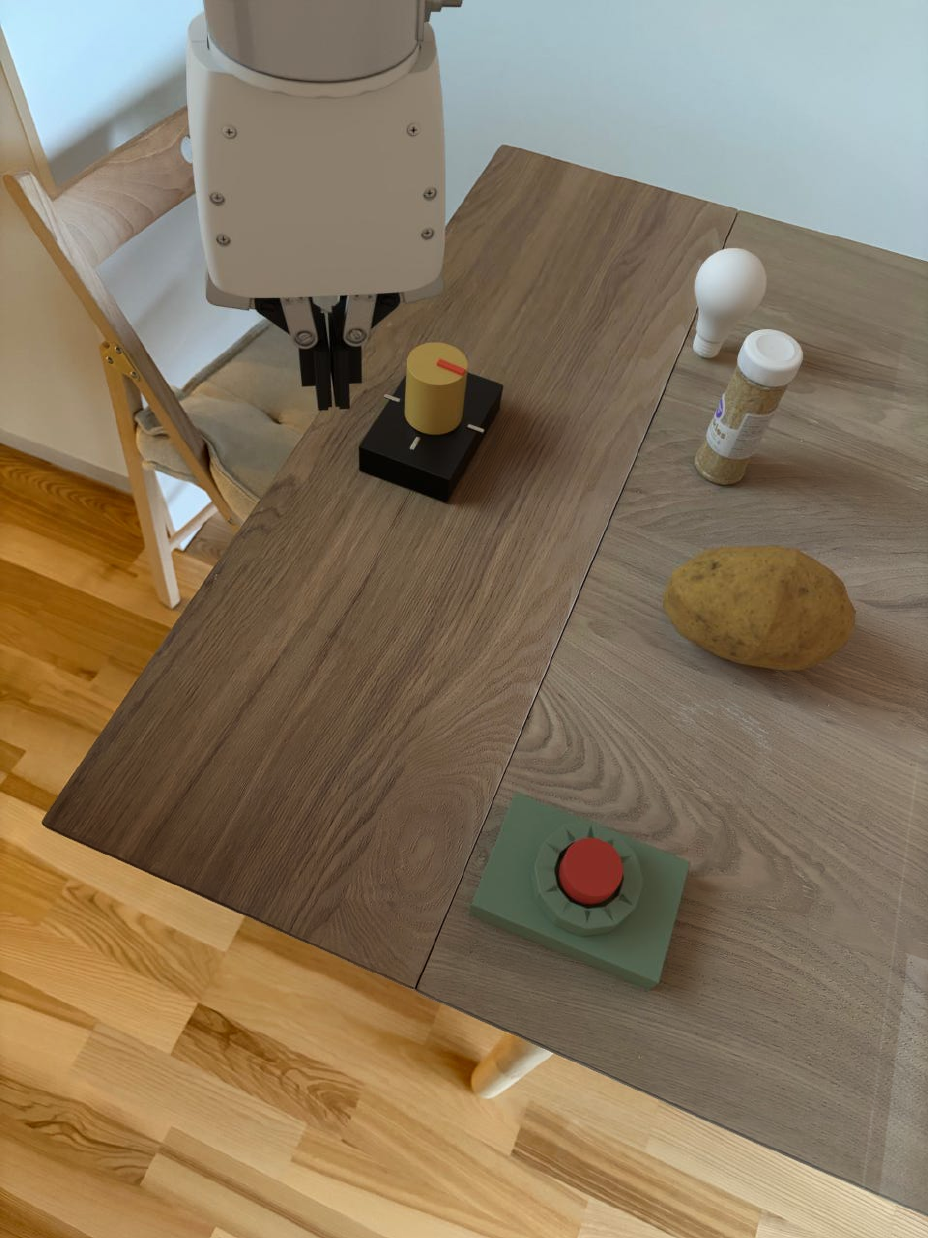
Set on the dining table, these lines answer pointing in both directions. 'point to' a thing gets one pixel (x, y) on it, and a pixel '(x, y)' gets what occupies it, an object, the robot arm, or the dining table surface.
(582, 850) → the bell button
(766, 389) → the spice jar
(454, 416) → the lock knob
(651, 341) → the dining table surface
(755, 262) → the lightbulb
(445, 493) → the plate
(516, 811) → the green button box
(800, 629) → the potato
